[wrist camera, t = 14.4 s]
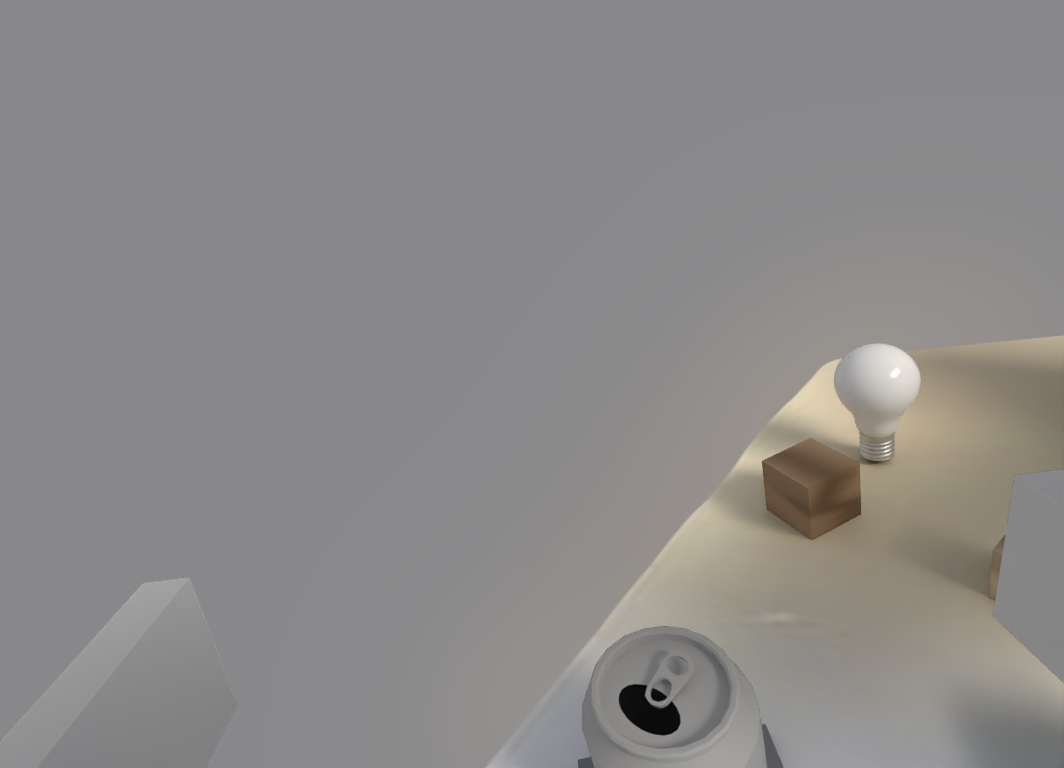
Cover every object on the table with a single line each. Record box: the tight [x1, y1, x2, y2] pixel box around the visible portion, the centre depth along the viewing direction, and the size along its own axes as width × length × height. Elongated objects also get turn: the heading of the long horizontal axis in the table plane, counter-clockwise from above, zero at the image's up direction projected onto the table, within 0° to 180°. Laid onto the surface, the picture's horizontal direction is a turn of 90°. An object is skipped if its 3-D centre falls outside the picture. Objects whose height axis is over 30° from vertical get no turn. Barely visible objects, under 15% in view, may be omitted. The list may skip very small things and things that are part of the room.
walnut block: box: [762, 438, 861, 540], centre depth 49 cm, size 5×5×5 cm
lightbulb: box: [834, 343, 921, 461], centre depth 52 cm, size 6×6×11 cm
